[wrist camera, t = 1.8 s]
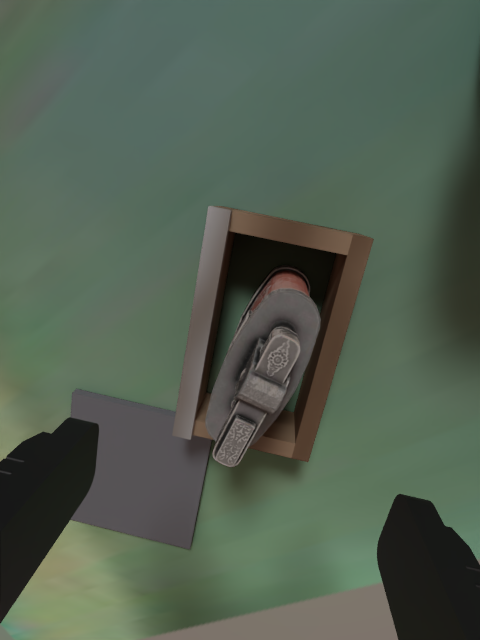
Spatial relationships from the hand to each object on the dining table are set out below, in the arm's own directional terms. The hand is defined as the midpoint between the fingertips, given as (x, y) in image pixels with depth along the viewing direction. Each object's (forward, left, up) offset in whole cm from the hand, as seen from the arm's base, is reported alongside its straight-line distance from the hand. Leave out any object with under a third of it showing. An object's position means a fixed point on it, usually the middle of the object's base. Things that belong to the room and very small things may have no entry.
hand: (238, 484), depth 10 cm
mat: (+7, +13, -14) cm, 21 cm away
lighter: (0, 0, -15) cm, 15 cm away
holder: (0, 0, -14) cm, 14 cm away
